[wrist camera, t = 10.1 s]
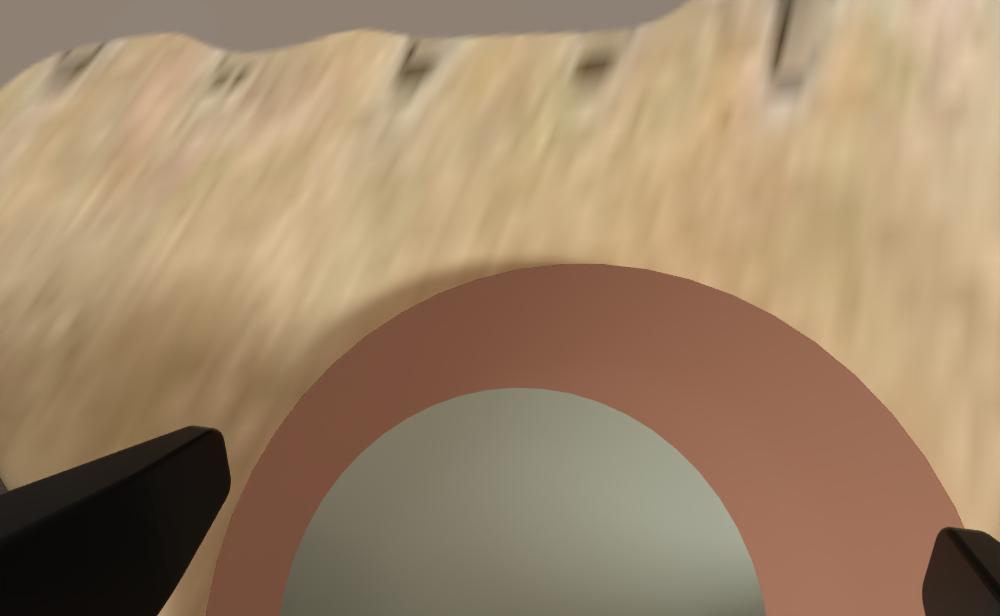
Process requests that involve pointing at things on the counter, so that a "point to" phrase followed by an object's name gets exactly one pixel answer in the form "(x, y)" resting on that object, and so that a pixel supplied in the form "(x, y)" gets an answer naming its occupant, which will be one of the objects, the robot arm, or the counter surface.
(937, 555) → the robot arm
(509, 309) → the terracotta plate
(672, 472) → the sage canister
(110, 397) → the counter surface
